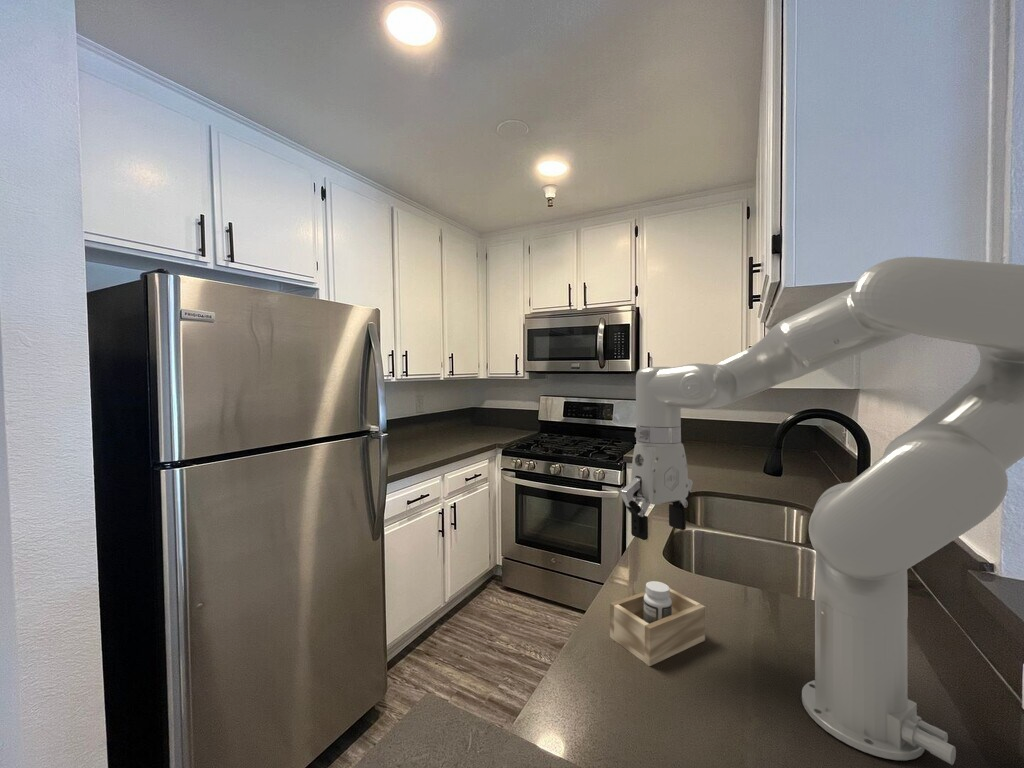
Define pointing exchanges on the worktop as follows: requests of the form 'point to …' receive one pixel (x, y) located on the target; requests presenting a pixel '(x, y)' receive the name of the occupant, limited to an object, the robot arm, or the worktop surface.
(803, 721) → the worktop surface
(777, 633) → the worktop surface
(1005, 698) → the worktop surface
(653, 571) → the worktop surface
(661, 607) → the pill bottle
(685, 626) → the open wooden box
